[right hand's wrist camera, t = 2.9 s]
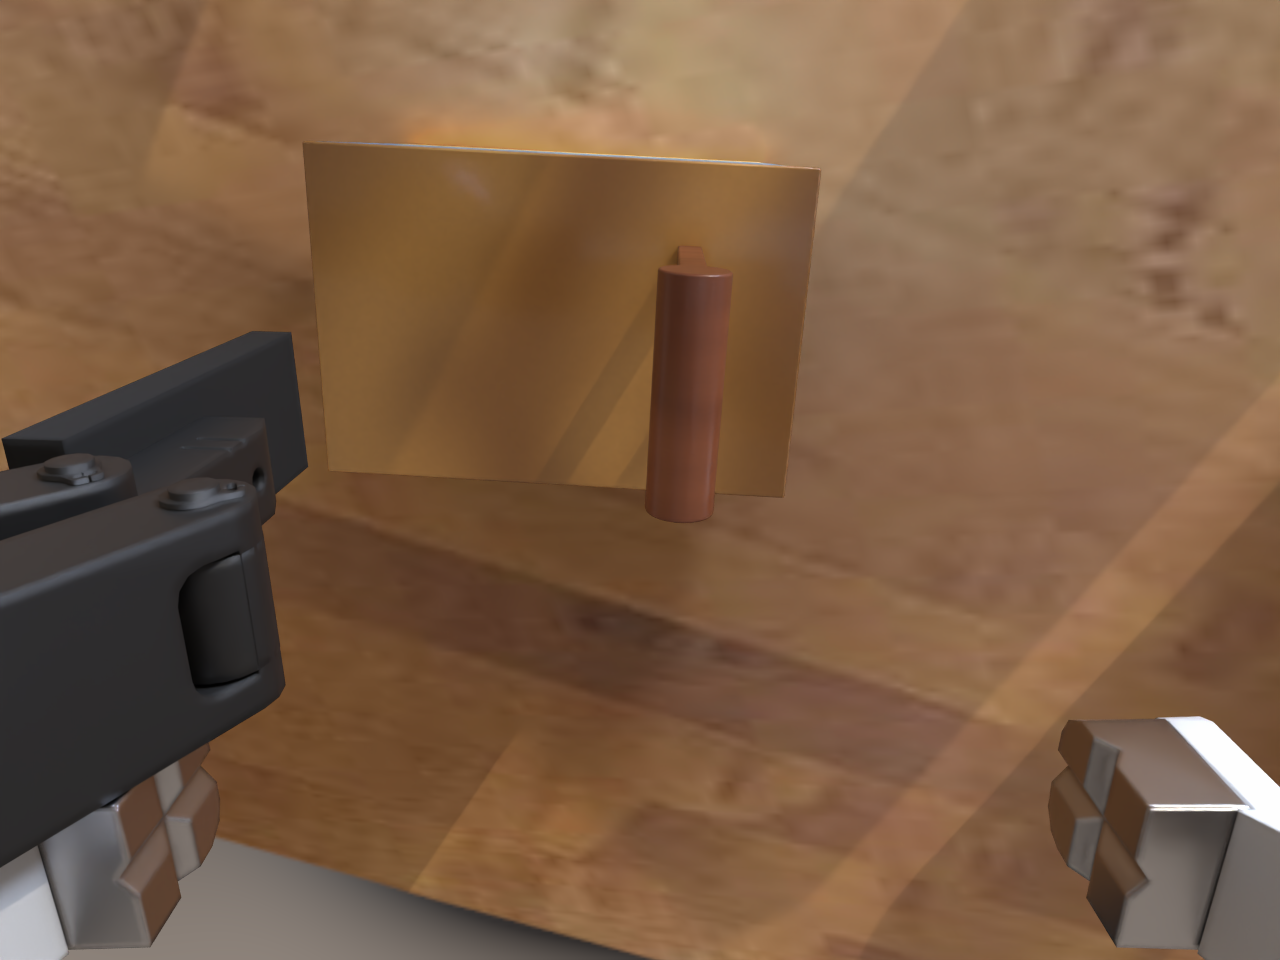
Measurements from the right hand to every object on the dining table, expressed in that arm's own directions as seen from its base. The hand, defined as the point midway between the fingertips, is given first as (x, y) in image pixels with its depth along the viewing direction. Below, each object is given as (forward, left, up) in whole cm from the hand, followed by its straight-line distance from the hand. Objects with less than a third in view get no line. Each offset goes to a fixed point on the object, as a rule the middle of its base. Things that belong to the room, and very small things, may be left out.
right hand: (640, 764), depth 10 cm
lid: (+1, -3, -18) cm, 19 cm away
